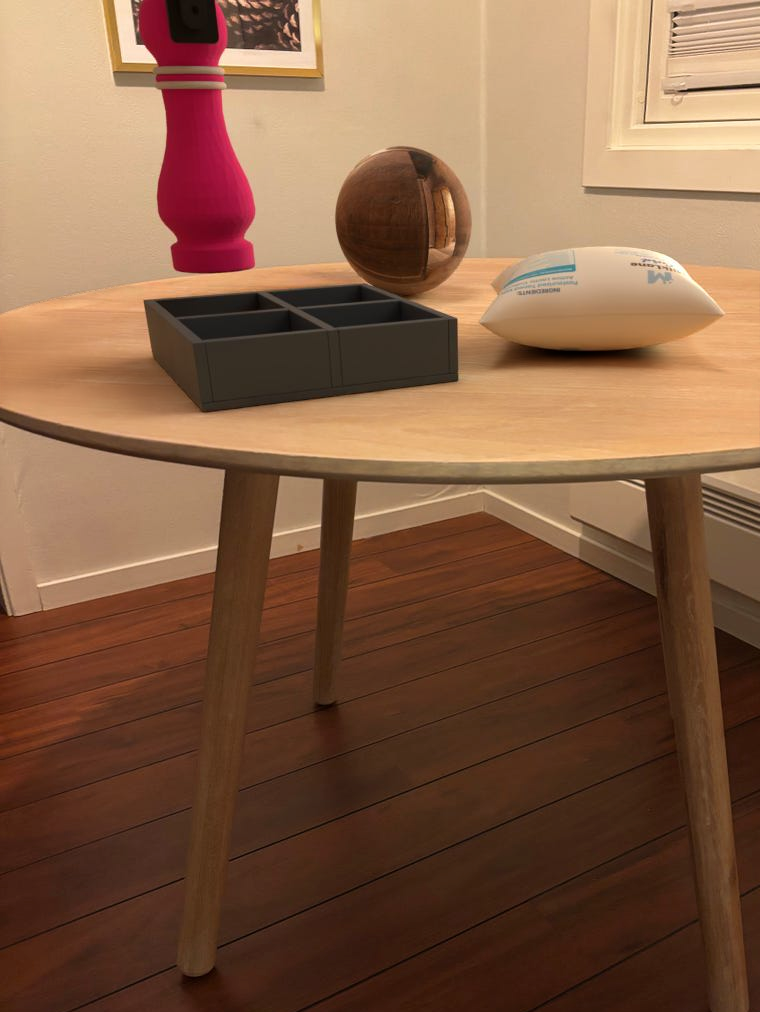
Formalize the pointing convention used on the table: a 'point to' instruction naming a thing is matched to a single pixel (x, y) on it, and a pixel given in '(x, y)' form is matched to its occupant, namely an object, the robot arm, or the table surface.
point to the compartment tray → (299, 344)
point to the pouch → (597, 300)
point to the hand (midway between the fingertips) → (184, 43)
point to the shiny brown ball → (403, 220)
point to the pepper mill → (198, 153)
